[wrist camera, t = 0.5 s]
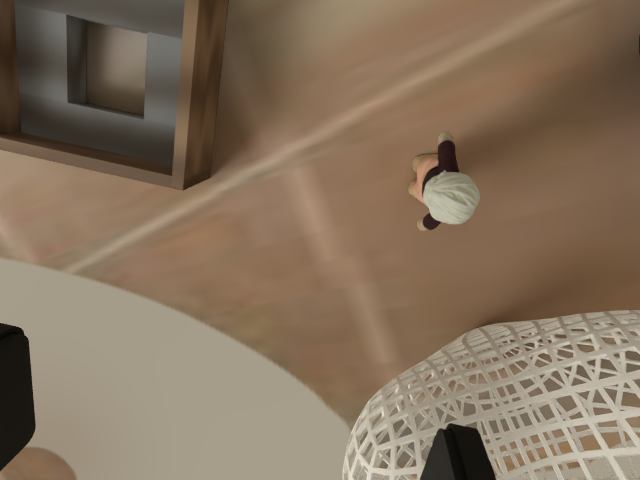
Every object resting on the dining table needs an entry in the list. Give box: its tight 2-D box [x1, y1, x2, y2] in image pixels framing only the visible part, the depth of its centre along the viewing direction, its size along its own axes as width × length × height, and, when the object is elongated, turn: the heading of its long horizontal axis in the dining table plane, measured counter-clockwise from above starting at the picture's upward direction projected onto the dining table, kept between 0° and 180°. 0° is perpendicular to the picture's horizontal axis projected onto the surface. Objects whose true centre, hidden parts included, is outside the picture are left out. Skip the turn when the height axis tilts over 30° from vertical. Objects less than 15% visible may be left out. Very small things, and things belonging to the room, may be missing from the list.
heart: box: [343, 310, 640, 480], centre depth 30 cm, size 28×16×22 cm, turn 115°
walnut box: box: [0, 0, 229, 190], centre depth 33 cm, size 16×18×6 cm
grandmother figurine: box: [408, 132, 480, 231], centre depth 30 cm, size 8×4×13 cm, turn 4°
